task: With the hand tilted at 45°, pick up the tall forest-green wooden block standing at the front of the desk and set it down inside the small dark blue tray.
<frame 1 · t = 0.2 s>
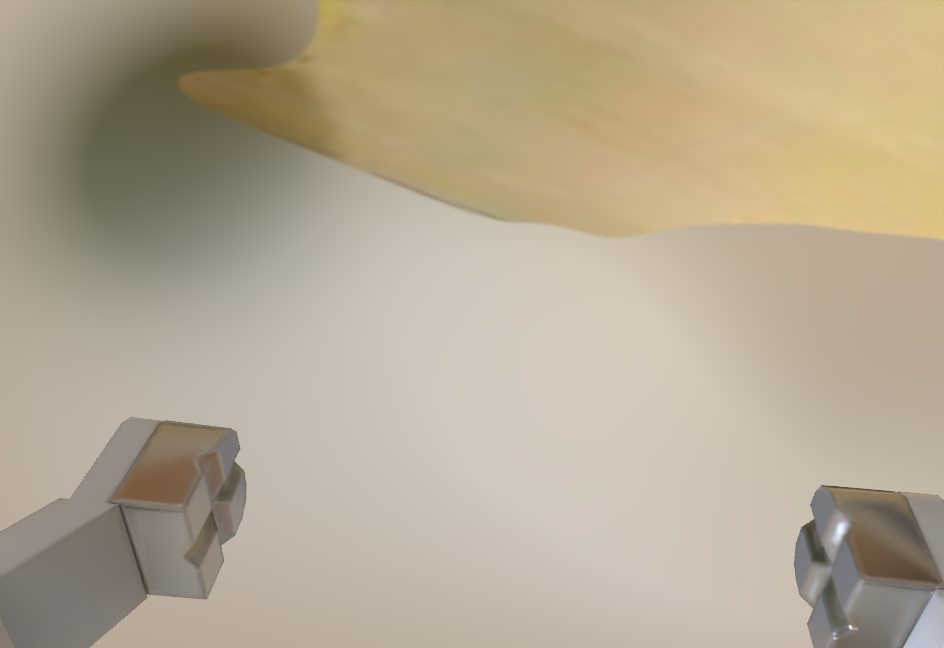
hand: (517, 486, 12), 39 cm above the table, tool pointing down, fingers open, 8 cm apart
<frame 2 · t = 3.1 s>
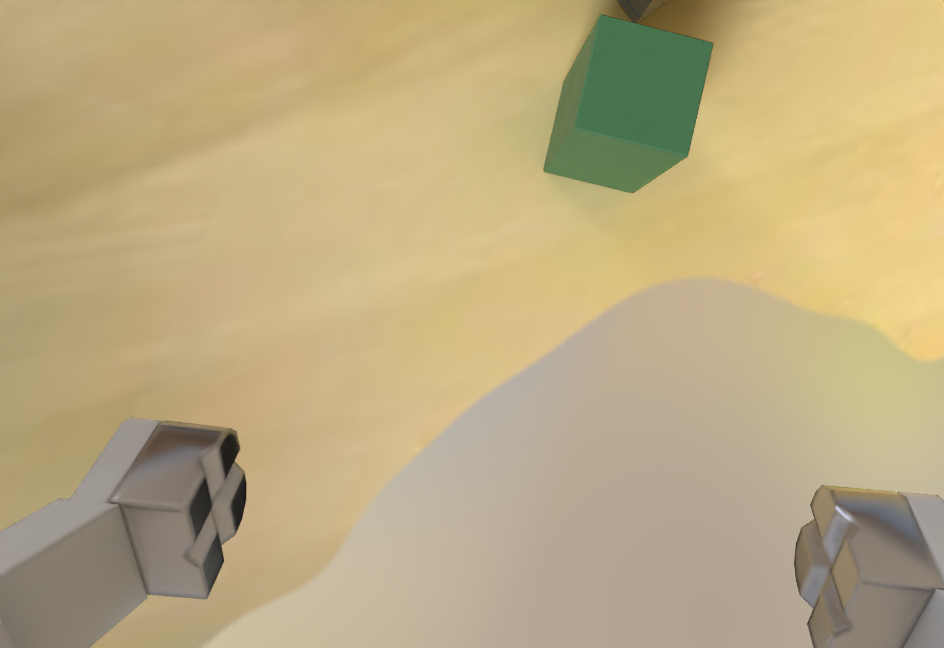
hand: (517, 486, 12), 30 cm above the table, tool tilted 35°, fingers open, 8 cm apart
green block: (598, 137, 42), on the table
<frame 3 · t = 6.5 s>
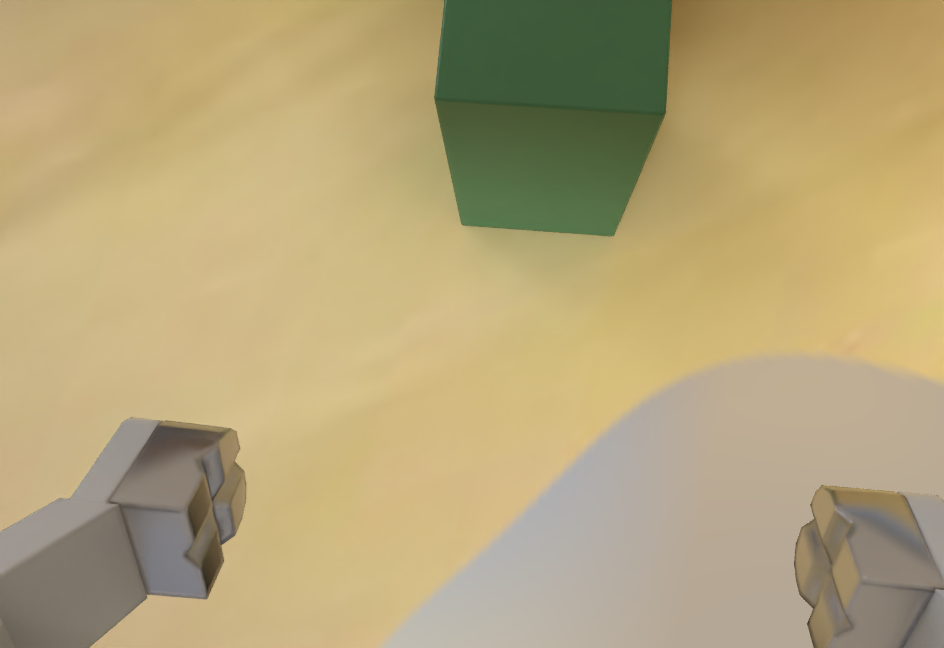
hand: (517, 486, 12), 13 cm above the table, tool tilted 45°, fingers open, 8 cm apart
green block: (543, 159, 26), on the table
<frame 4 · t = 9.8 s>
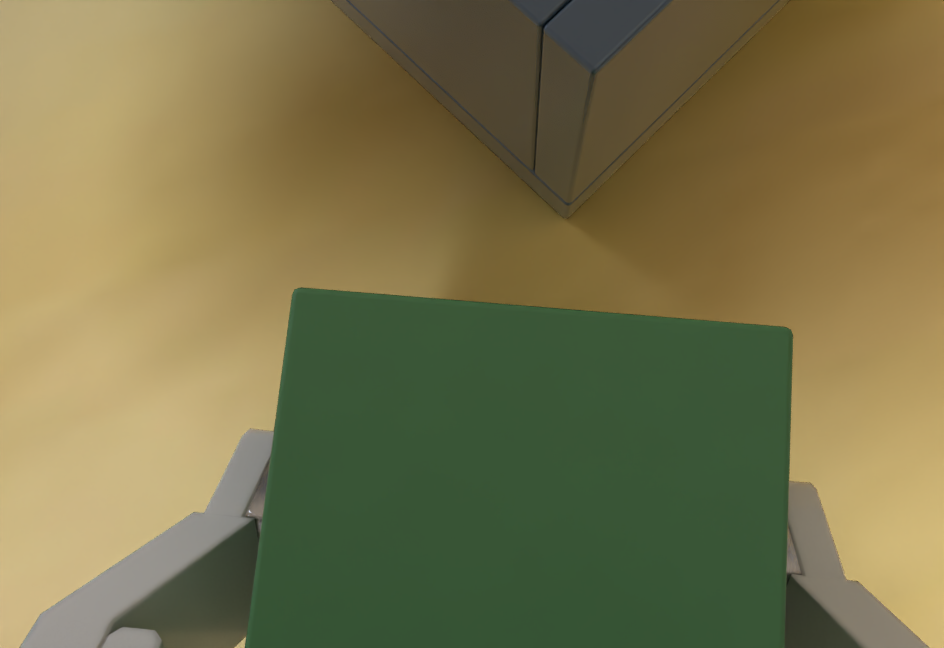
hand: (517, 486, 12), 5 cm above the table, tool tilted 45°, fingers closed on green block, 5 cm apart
green block: (516, 514, 16), on the table, touching gripper
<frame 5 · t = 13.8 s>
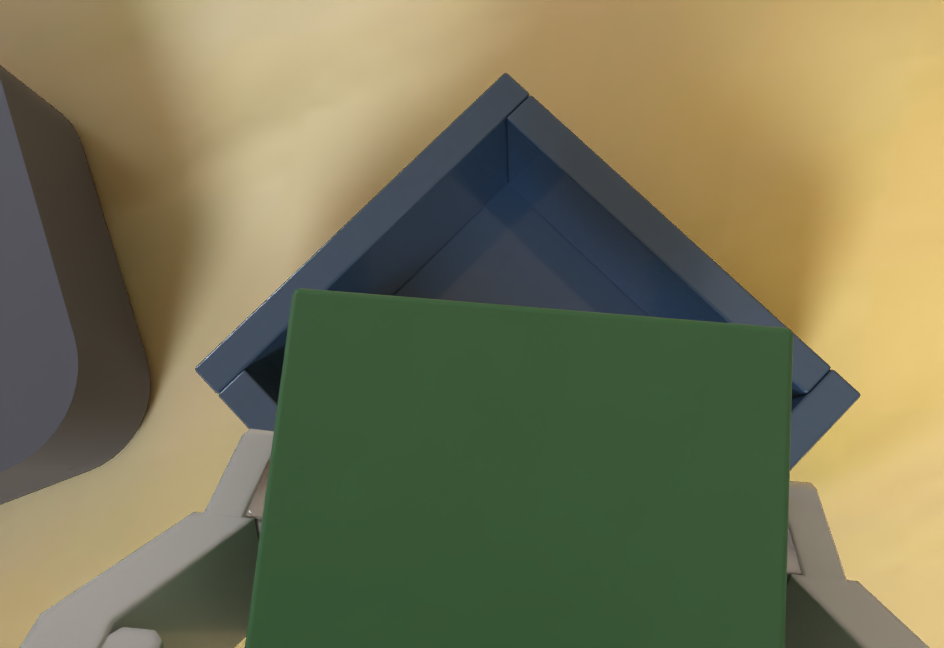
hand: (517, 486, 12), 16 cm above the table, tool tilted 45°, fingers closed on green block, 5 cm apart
dark blue tray: (518, 401, 28), on the table
green block: (516, 514, 16), point 12 cm above the table, touching gripper
when the fingers open (6 cm above the table, at t = 17.6 s): green block stays where it is, resting on dark blue tray.
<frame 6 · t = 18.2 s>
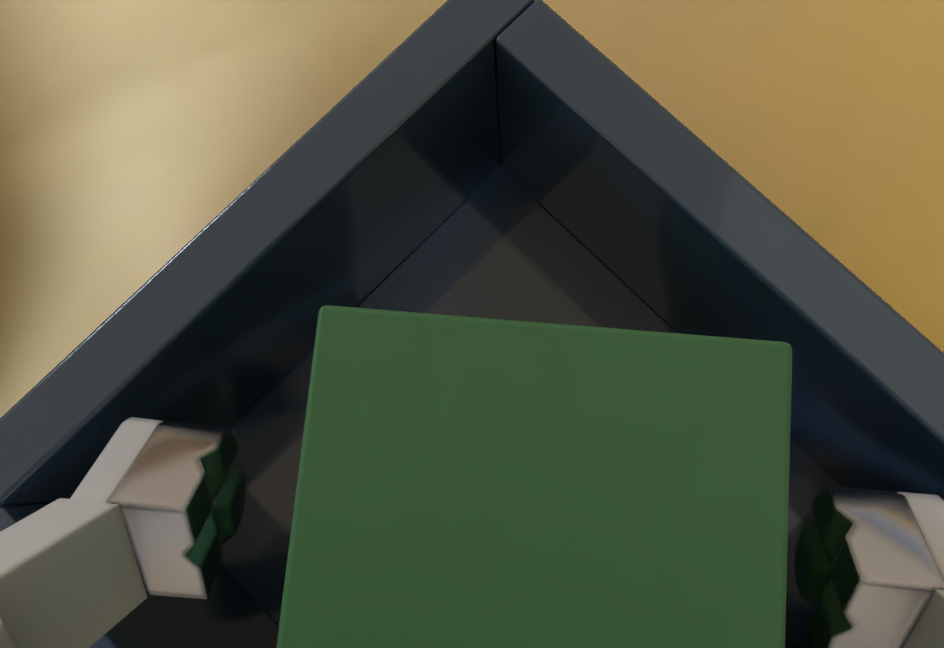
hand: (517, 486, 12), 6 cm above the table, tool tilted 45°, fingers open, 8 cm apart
dark blue tray: (518, 511, 18), on the table
green block: (524, 516, 17), point 1 cm above the table, touching dark blue tray
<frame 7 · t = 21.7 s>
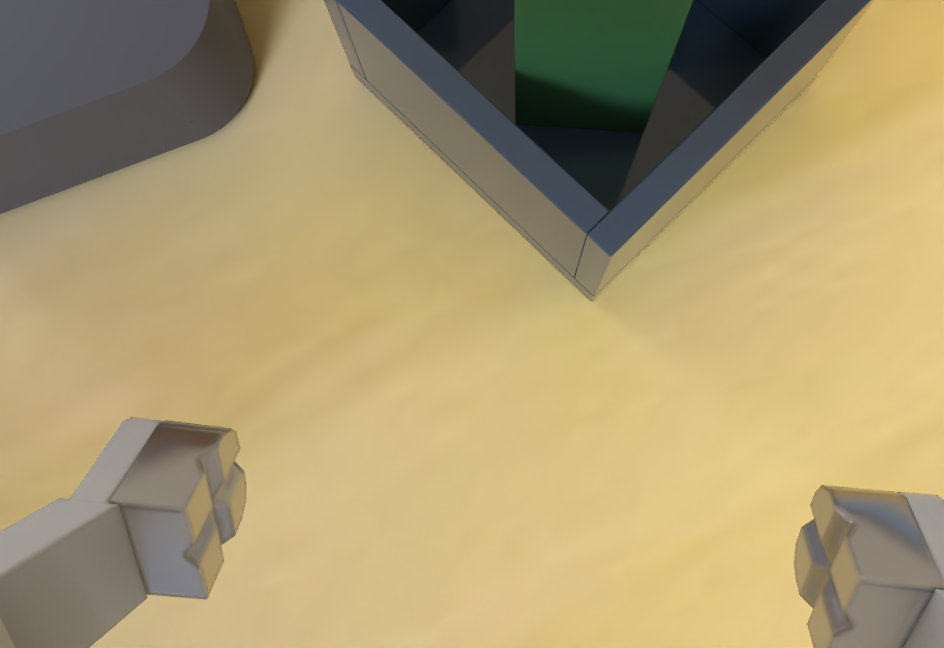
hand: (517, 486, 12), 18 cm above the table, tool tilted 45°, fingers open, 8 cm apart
dark blue tray: (578, 80, 32), on the table
streaming box: (59, 26, 34), on the table
green block: (583, 68, 31), point 1 cm above the table, touching dark blue tray
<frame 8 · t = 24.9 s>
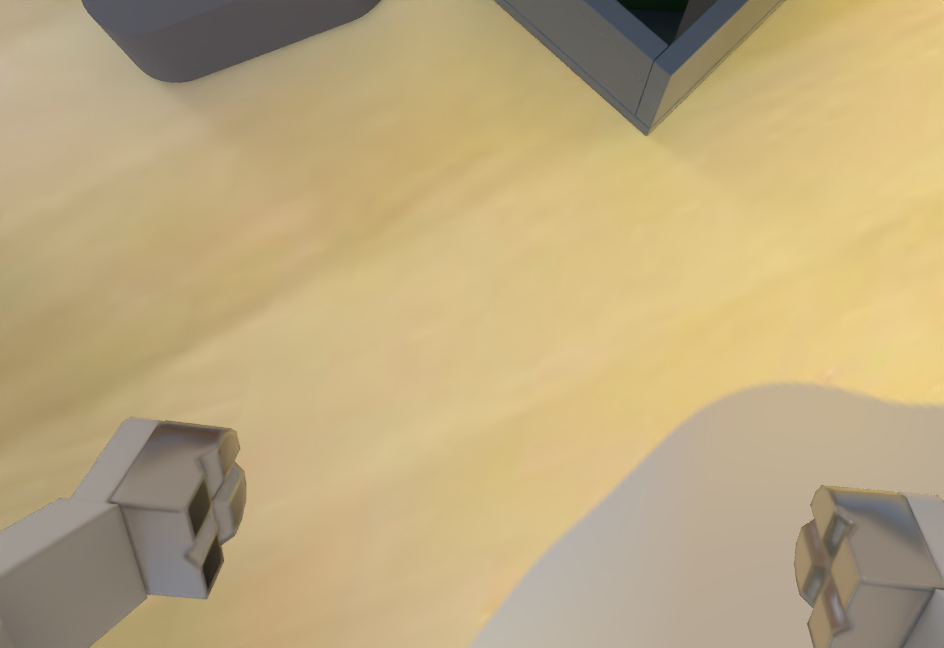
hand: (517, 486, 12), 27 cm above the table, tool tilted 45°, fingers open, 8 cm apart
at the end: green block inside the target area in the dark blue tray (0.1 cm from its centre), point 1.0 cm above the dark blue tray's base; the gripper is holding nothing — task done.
